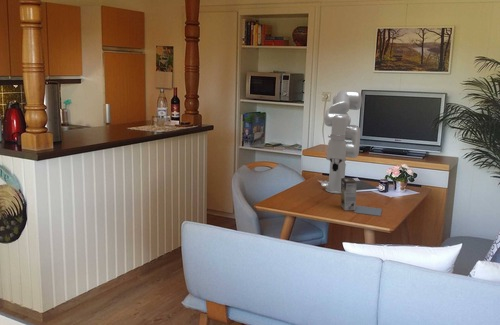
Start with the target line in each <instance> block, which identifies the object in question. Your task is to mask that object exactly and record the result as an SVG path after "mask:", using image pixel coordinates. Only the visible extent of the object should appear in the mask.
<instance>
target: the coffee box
mask: <svg viewBox="0 0 500 325" xmlns="http://www.w3.org/2000/svg"><path fill="white" fill-rule="evenodd" d="M356 206H357V180H355V179H354V178H353V177H345V178H341V194H340V207H341V208H342V209H343V210H344V211H355V210H356Z"/></svg>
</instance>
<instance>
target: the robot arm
mask: <svg viewBox="0 0 500 325" xmlns="http://www.w3.org/2000/svg"><path fill="white" fill-rule="evenodd" d="M362 100H363V98H362V93H361V92H359V91H357V90H356V91H355V90H340V91H338V92H337V94H336V95H335V96H334V97H333V98H332V104H331V105H330V106H329V107H327V109H326V111H325V115H324V125H325V126H327V127H330V128H331V130H330V131H331V134H328V136H327V137H328V138H329V140H328V144H327V149H326V157H325V158H326V160H327V161H330V162H329V173H328V174H329V175H328V182H326V183H325V182H321V187H323V188H325V191H326V192H328V193H331V194H340V195H341V178H346V177H345V176H346V175H345V174H346V167H347V166H346V165H347V164H346V160H347V158H353V159H356V158H357V157H358V156H359V154H360V143H361V128H360V126H359V125H355V124H351V117H350V115H349V114H348V112H349V111H350V110H351V111H357V110H360V109H361V108H362V102H363V101H362Z"/></svg>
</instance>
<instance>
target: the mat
mask: <svg viewBox="0 0 500 325" xmlns="http://www.w3.org/2000/svg"><path fill="white" fill-rule="evenodd" d="M382 212H383V209H382V208H378V207H370V206H366V205H365V206H363V205H356V210H353V213H354V214H361V215H368V216H374V217H375V216H376V217H382V216H381V215H382Z"/></svg>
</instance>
